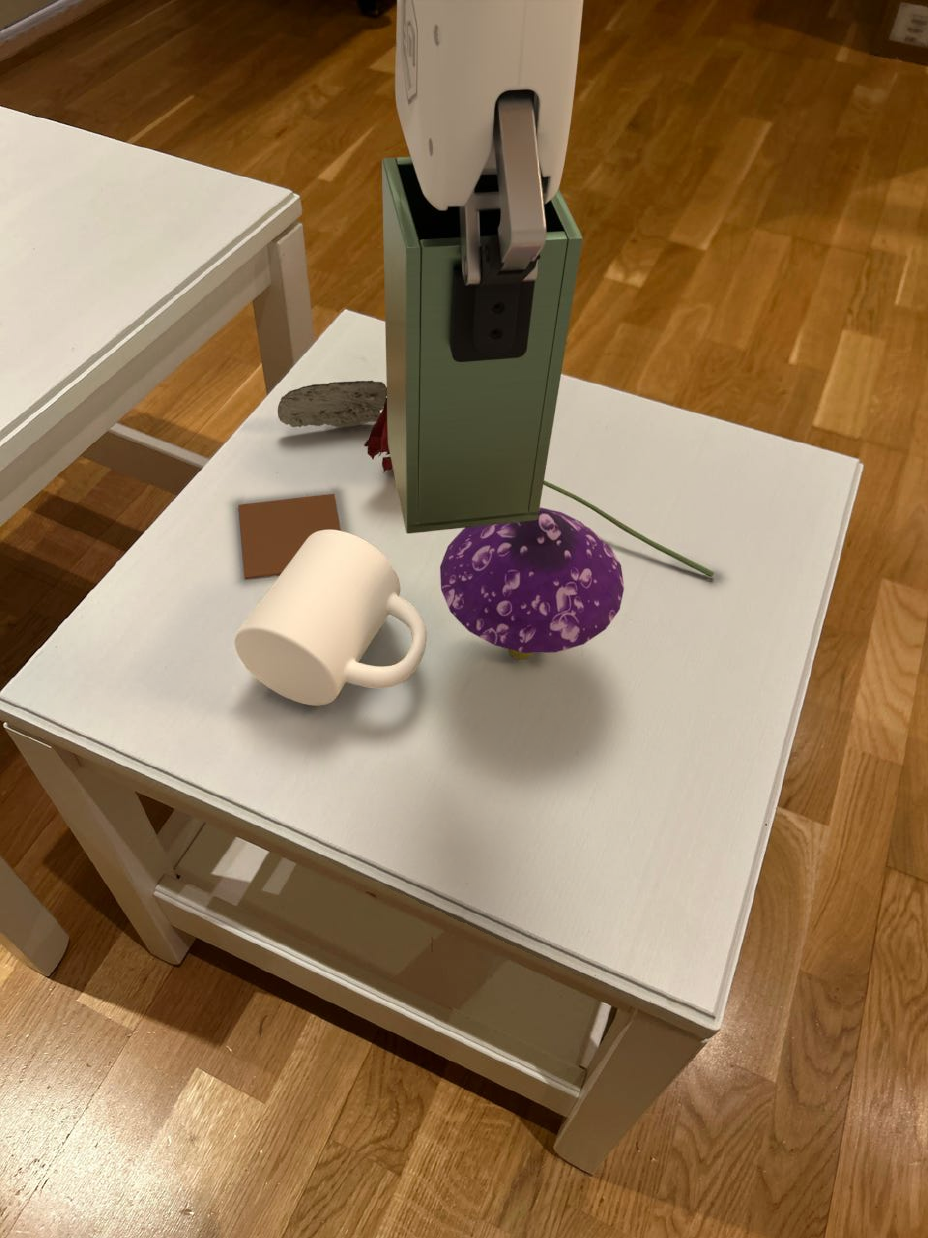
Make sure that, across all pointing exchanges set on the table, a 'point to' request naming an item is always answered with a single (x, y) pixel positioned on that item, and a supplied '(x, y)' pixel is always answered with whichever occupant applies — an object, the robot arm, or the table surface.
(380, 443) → the flower
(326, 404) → the stone fragment
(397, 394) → the box
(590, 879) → the table surface
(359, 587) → the mug
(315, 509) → the coaster
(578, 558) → the decorative mushroom
